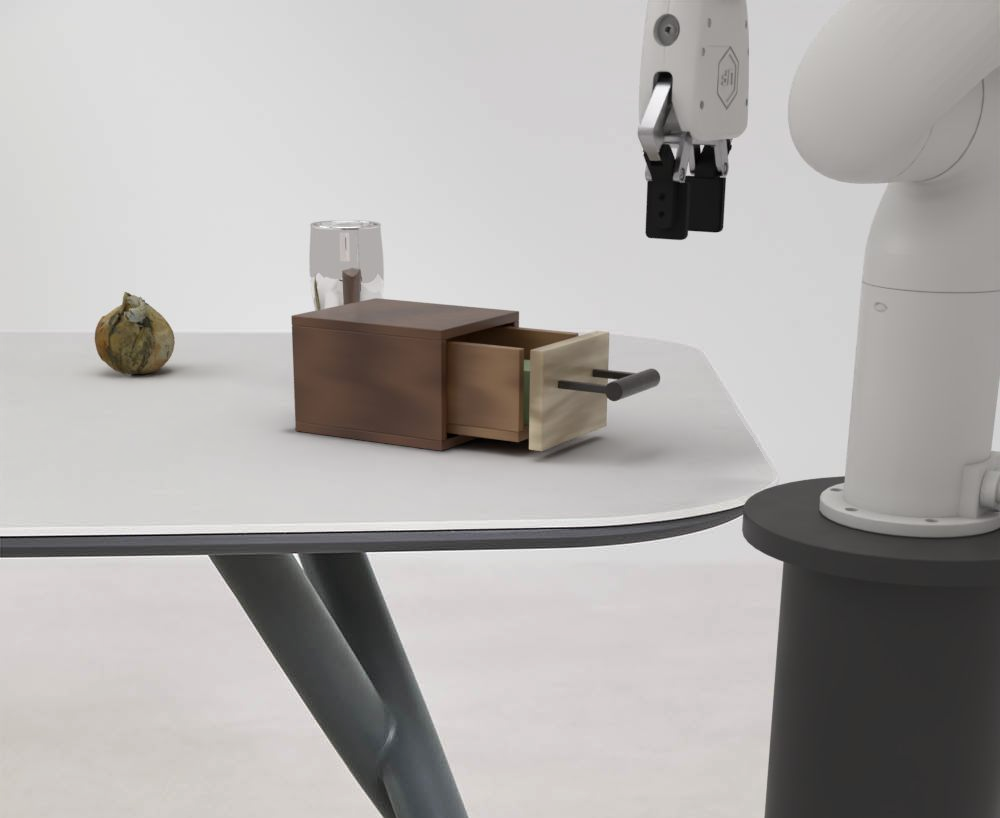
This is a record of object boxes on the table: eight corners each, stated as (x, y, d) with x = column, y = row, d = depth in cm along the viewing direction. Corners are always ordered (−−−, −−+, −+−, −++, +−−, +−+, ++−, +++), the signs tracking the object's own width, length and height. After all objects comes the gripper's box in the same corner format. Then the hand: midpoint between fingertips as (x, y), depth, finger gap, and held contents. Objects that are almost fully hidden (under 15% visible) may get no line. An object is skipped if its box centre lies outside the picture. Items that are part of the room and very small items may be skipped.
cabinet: (518, 424, 149) (519, 311, 145) (441, 451, 138) (441, 330, 135) (377, 406, 155) (375, 298, 152) (295, 431, 145) (290, 315, 141)
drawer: (669, 433, 141) (673, 337, 138) (607, 460, 132) (610, 358, 129) (468, 409, 150) (469, 318, 147) (397, 432, 141) (396, 335, 138)
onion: (194, 371, 171) (189, 289, 168) (132, 382, 165) (125, 297, 162) (144, 362, 175) (139, 282, 172) (82, 373, 170) (74, 290, 166)
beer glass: (324, 395, 160) (319, 228, 154) (304, 382, 166) (299, 221, 160) (395, 390, 162) (393, 226, 157) (373, 377, 168) (370, 219, 163)
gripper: (696, -35, 113) (683, 248, 120) (790, -25, 127) (773, 228, 134) (595, -33, 117) (588, 242, 124) (697, -24, 131) (686, 223, 137)
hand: (684, 232), depth 129 cm, fingers open, 5 cm apart
